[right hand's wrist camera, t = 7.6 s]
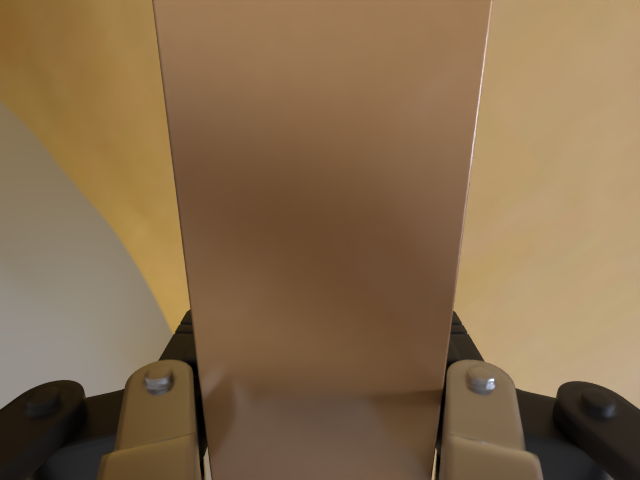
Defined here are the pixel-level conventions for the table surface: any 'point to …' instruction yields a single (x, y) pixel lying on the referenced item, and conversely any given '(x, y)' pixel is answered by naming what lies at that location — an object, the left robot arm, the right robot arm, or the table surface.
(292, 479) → the bar
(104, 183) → the table surface
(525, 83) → the table surface
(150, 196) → the table surface
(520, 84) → the table surface
